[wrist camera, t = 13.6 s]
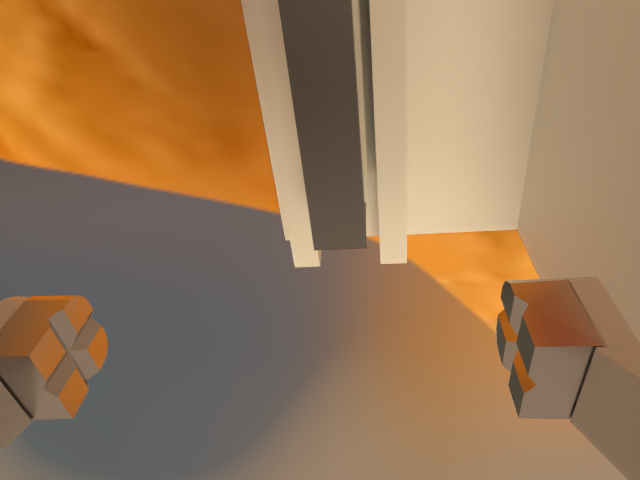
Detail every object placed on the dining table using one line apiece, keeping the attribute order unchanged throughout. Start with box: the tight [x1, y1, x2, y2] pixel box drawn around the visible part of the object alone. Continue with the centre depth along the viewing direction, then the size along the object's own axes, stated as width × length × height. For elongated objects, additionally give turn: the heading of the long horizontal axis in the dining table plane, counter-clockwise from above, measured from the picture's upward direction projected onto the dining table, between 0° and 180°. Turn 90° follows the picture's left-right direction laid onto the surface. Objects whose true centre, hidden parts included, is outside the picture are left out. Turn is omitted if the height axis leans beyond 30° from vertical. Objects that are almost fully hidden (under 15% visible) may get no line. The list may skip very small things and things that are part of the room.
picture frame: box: [278, 0, 368, 251], centre depth 22 cm, size 14×3×8 cm, turn 6°
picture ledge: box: [241, 0, 640, 342], centre depth 18 cm, size 24×17×18 cm
